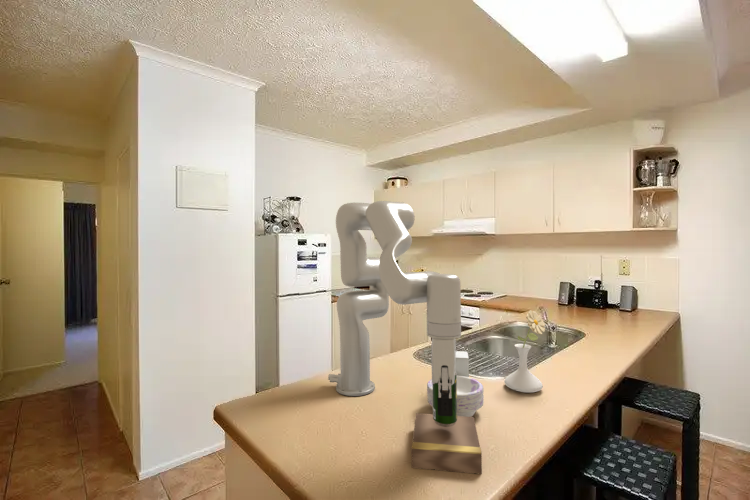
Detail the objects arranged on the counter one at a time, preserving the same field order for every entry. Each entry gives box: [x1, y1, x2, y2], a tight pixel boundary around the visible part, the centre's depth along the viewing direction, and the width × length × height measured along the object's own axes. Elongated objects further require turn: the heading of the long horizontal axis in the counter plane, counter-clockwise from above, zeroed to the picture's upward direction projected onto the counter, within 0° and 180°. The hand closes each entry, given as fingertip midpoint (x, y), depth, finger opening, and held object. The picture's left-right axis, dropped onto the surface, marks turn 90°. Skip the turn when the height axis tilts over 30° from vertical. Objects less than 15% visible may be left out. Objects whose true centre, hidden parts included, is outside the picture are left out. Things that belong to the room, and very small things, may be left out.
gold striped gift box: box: [411, 412, 483, 475], centre depth 81 cm, size 14×16×4 cm
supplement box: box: [455, 350, 470, 378], centre depth 111 cm, size 7×7×13 cm
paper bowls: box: [426, 376, 485, 417], centre depth 99 cm, size 15×15×8 cm
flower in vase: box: [504, 309, 546, 394], centre depth 115 cm, size 13×11×25 cm
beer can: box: [432, 366, 457, 427], centre depth 81 cm, size 5×5×12 cm
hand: (444, 408), depth 81 cm, fingers closed on beer can, 5 cm apart
